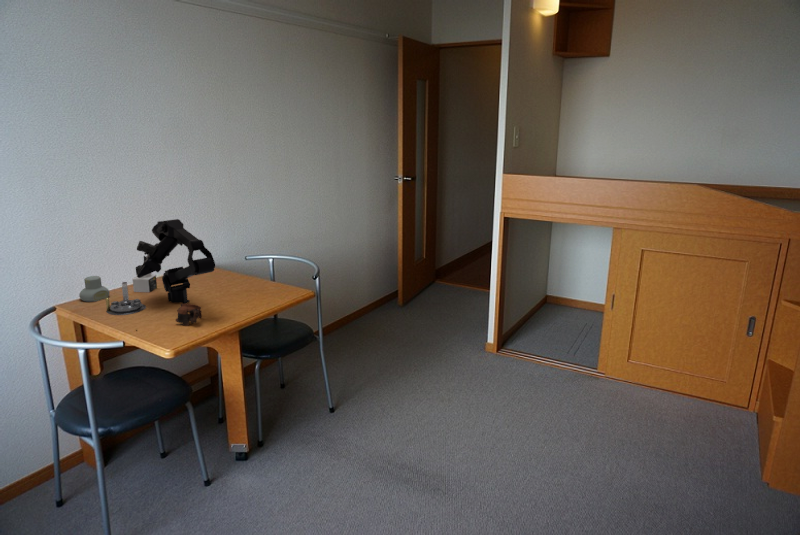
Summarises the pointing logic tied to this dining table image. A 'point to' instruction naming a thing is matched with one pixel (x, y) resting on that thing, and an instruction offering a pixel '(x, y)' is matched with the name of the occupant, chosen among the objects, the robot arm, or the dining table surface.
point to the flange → (121, 313)
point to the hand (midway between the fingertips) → (138, 276)
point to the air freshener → (93, 290)
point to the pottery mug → (185, 317)
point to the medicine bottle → (144, 282)
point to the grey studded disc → (125, 302)
